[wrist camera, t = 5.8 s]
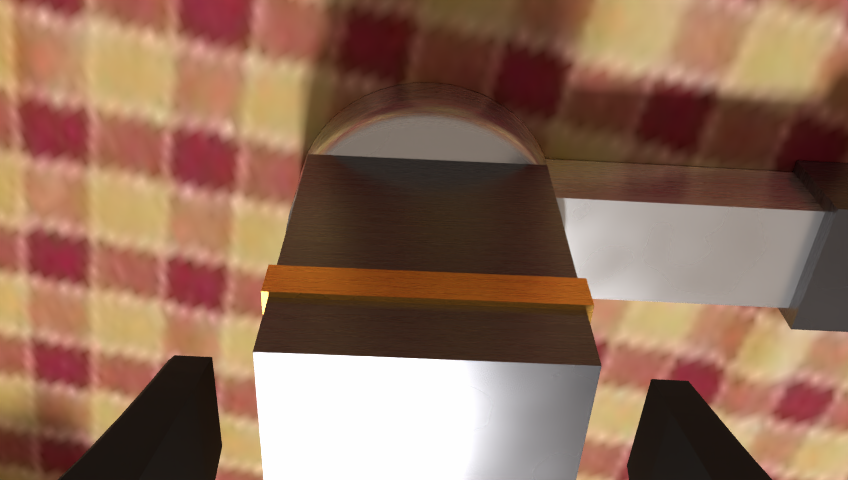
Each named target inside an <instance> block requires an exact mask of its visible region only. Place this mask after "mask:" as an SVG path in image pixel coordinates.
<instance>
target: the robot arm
mask: <svg viewBox="0 0 848 480" xmlns="http://www.w3.org/2000/svg"><path fill="white" fill-rule="evenodd" d="M221 449H222V441H221V432H220V423H219V414H218V405H217V397H216V388H215V379H214V370H213V361H212V357H196V356H176V355H175V356H173V357H172V358H171V359H170V360H168V362H167V363H166V364H165V365H164V366H163V367H162V369H161V370H160V371H159V372H158V373H157V374H156V376H155V377H154V378H153V379H152V380H151V382H150V383H149V384H148V385H147V386H146V387H145V389H144V390H143V391H142V392H141V393H140V394H139V395H138V397H137V398H136V399H135V400H134V401H133V402H132V403H131V404H130V406H129V407H128V408H127V409H126V410H125V411H124V412H123V413H122V415H121V416H120V417H119V418H118V419H117V420H116V421H115V422H114V423H113V424H112V425H111V426H110V427H109V428H108V430H107V431H106V432H105V433H104V434H103V435H102V436H101V437H100V438H99V439H98V440H97V441H96V442H95V443H94V444H93V445H92V447H91V448H90V449H89V450H88V451H87V452H86V453H85V454H84V455H83V456H82V457H81V458H80V459H79V460H78V461H77V462H76V463H75V464H74V465H72V466H71V467H70V468H69V469H68V470H67V471H66V472H65V473H64V474H63V475H62V476H61V477H60V478H59V479H58V480H215V478H216V473H217V468H218V464H219V459H220V454H221ZM627 468H628V475H629V480H772V479H771V478H770V477H769V476H768V474H767V473H766V472H765V471H764V470H763V469H762V468H761V467H760V465H759V464H758V463H757V462H756V461H755V460H754V459H753V458H752V456H751V455H750V454H749V453H748V452H747V451H746V449H745V448H744V447H743V446H742V445H741V444H740V442H739V441H738V440H737V439H736V438H735V436H734V435H733V434H732V433H731V432H730V431H729V429H728V428H727V427H726V426H725V425H724V423H723V422H722V421H721V420H720V419H719V417H718V416H717V415H716V414H715V412H714V411H713V410H712V409H711V408H710V406H709V405H708V404H707V403H706V402H705V400H704V399H703V398H702V397H701V396H700V394H699V393H698V392H697V391H696V390H695V389H694V387H693V386H692V385H691V384H690V383H689V381H678V380H657V379H651V382H650V386H649V389H648V393H647V396H646V400H645V404H644V407H643V411H642V414H641V418H640V421H639V425H638V428H637V432H636V435H635V439H634V443H633V446H632V450H631V453H630V457H629V460H628V464H627Z"/></svg>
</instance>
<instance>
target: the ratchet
mask: <svg viewBox="0 0 848 480" xmlns="http://www.w3.org/2000/svg"><path fill="white" fill-rule="evenodd" d="M308 154H319V155H341V156H363V157H384V158H406V159H428V160H450V161H471V162H493V163H515V164H536V165H547V166H548V170H549V174H550V178H551V181H552V185H553V189H554V192H555V196H556V200H557V203H558V207H559V211H560V215H561V218H562V222H563V226H564V229H565V233H566V237H567V240H568V244H569V248H570V251H571V255H572V259H573V263H574V266H575V270H576V274H577V277H578V278H586V279H587V282H588V286H589V289H590V293H591V296H592V299H612V300H633V301H653V302H674V303H695V304H715V305H736V306H757V307H777V308H779V310H780V312H781V313H782V315H783V317H784V318H785V320H786V322H787V323H788V325H789V327H790V328H791V329H799V330H820V331H841V332H848V163H832V162H814V161H797V162H796V165H795V168H794V171H793V172H782V171H763V170H744V169H725V168H706V167H688V166H669V165H650V164H631V163H613V162H594V161H575V160H556V159H545V157H544V154H543V152H542V150H541V148H540V146H539V144H538V143H537V141H536V139H535V137H534V136H533V135H532V133H531V132H530V131H529V130H528V128H527V127H526V126H525V125H524V124H523V123H522V122H521V121H520V120H519V119H518V118H517V117H516V116H515V115H514V114H513V113H512V112H510V111H509V110H508V109H506V108H505V107H504V106H502V105H501V104H499V103H497V102H496V101H494V100H492V99H490V98H488V97H486V96H485V95H482V94H479V93H477V92H474V91H472V90H469V89H466V88H462V87H457V86H453V85H447V84H439V83H411V84H404V85H397V86H393V87H389V88H385V89H382V90H379V91H376V92H374V93H371V94H369V95H366V96H364V97H362V98H360V99H359V100H357V101H355V102H353V103H352V104H350V105H348V106H347V107H346V108H344V109H343V110H342V111H340V112H339V113H338V114H336V115H335V116H334V117H333V118H332V119H331V120H330V121H329V122H328V123H327V124H326V125H325V127H324V128H323V129H322V131H321V132H320V133H319V135H318V136H317V137H316V139H315V140H314V142H313V144H312V146H311V148H310V149H309V151H308ZM308 154H307V156H308ZM307 156H306V159H307ZM306 159H305V162H304V165H303V168H302V171H301V175H300V178H299V182H298V185H297V189H296V193H295V196H294V200H293V203H292V207H291V210H290V214H289V218H288V223H287V227H288V224H289V220H290V217H291V213H292V209H293V206H294V202H295V199H296V195H297V192H298V188H299V184H300V181H301V177H302V174H303V170H304V166H305V163H306ZM286 231H287V229H286Z"/></svg>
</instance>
